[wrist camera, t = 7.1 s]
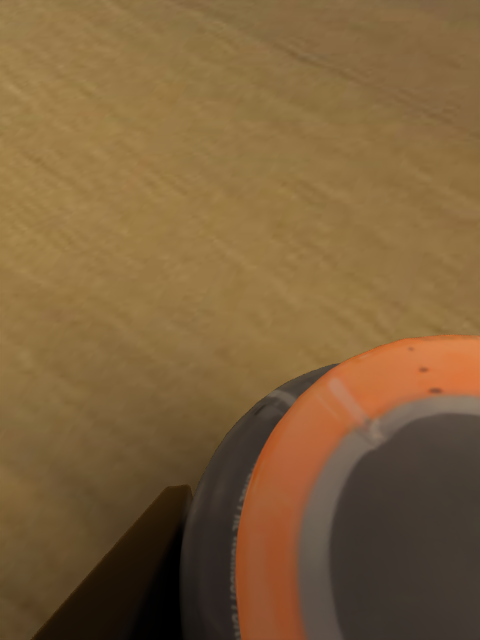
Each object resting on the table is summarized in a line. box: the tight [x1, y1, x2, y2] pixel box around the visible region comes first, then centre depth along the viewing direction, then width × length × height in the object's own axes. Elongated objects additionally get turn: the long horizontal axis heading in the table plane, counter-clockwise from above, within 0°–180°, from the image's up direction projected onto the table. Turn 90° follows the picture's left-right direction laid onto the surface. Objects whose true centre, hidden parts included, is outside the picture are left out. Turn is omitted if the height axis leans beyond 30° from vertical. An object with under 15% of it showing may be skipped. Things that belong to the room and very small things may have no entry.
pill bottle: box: [179, 335, 480, 640], centre depth 8 cm, size 6×6×11 cm
